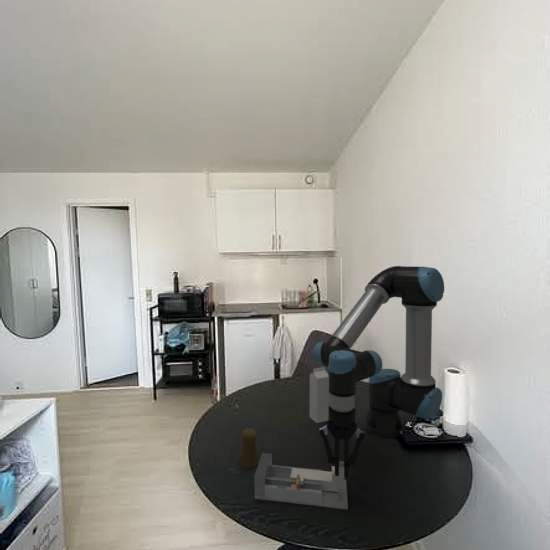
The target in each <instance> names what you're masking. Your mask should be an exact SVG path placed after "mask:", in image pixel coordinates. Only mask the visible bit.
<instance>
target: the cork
mask: <svg viewBox="0 0 550 550" xmlns="http://www.w3.org/2000/svg"><path fill="white" fill-rule="evenodd" d="M257 435H258V433H257V431H256V430H255V429H253V428H245V429H243V430H242V432H241V435H240V439H241V441H242V446H241V455H240V456H241V457H240V461H239V462H240V463H239V464H240V466H241V467H242V468H245V469H253V468H255V467H257V466H258V464H259V458H258V451H257V443H256V441H257V438H258V437H257Z"/></svg>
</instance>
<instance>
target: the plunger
mask: <svg viewBox="0 0 550 550" xmlns="http://www.w3.org/2000/svg"><path fill="white" fill-rule="evenodd" d="M298 468H299V467H298ZM298 468H292V471H291V477H290V479H293V480H297V474H298V475H300V485H303V483H304V481H312V482H322V490H323V491H332V492H339V476H335V465H334V466H333V465H332V466H331V471H326V470H323V471H318V470H319V469H318V470H308V469H309V468H308V469H298Z"/></svg>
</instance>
